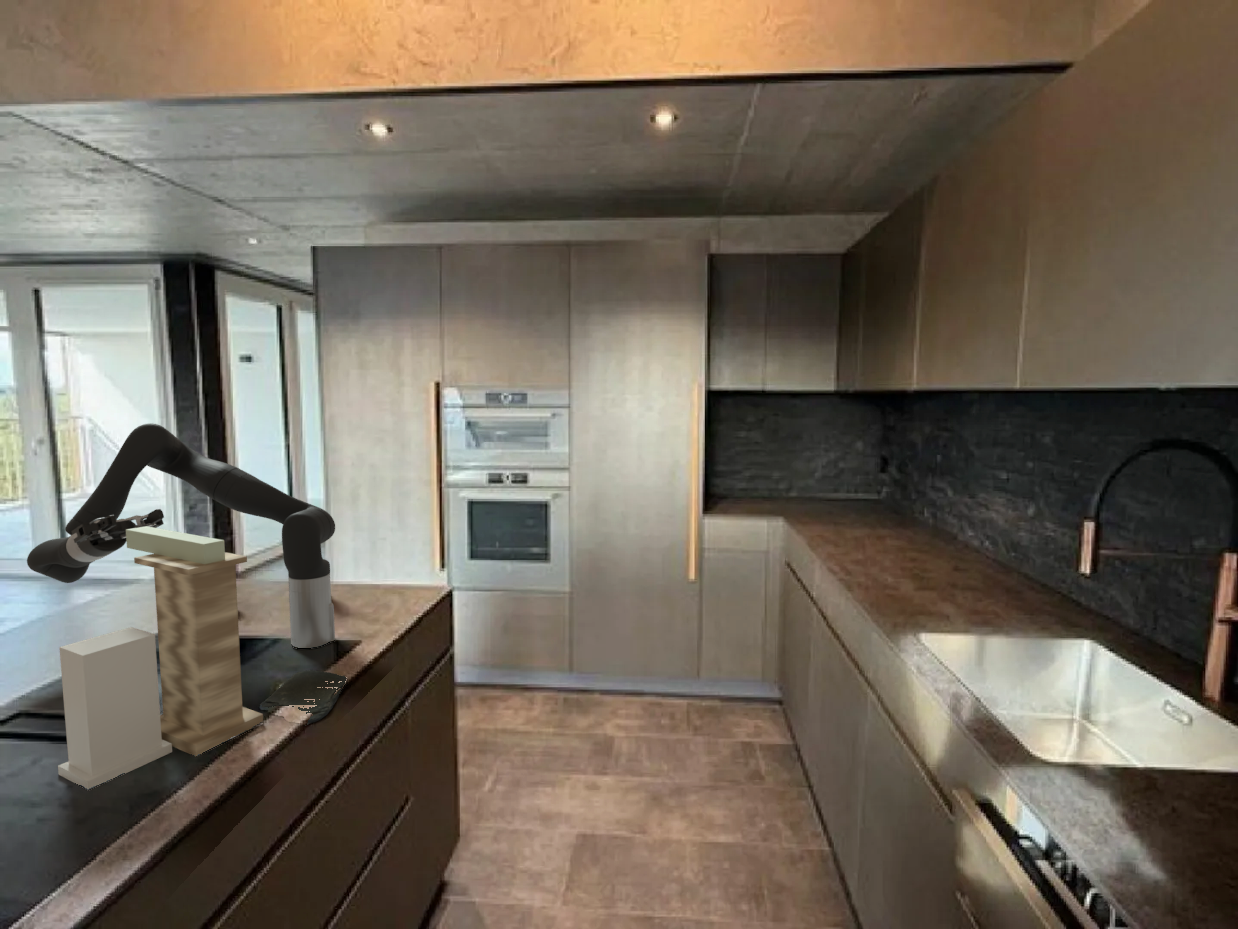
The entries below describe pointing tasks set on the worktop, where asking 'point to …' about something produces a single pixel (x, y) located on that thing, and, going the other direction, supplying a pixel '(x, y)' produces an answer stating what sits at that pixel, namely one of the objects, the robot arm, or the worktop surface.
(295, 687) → the stone slab
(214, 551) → the bar
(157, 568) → the stand
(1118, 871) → the worktop surface
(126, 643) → the pedestal
